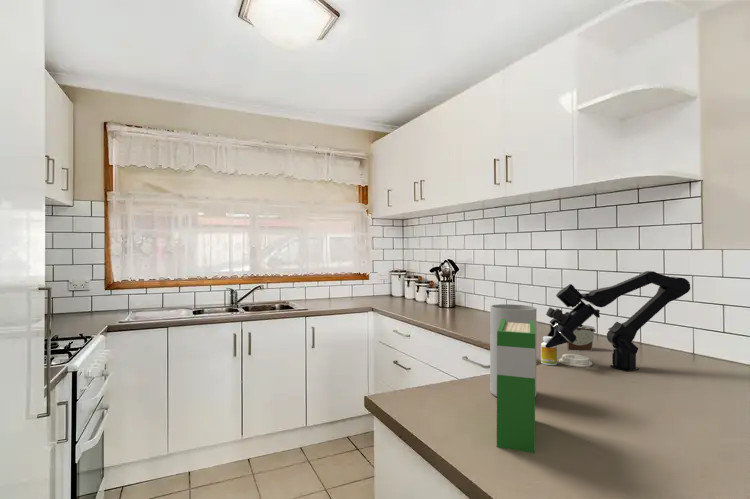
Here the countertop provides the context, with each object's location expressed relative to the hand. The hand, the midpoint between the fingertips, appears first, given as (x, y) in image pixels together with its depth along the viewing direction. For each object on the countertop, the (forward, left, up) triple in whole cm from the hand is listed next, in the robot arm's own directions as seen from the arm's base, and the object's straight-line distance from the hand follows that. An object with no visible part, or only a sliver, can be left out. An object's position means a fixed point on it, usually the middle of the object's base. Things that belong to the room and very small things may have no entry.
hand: (544, 345), depth 152 cm
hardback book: (-42, +52, -7) cm, 67 cm away
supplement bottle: (-1, -1, -7) cm, 7 cm away
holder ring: (-4, -11, -7) cm, 13 cm away
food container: (+12, -31, -7) cm, 34 cm away
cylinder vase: (-22, +35, -7) cm, 42 cm away
